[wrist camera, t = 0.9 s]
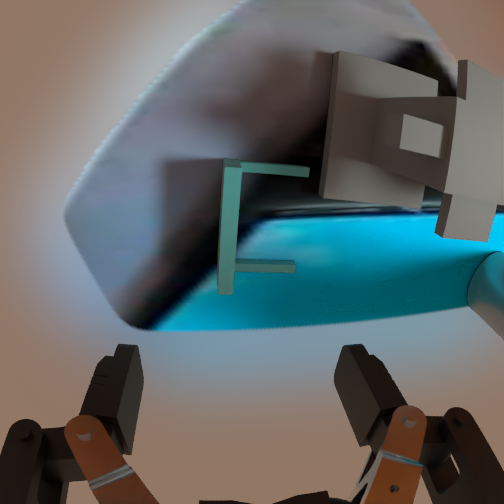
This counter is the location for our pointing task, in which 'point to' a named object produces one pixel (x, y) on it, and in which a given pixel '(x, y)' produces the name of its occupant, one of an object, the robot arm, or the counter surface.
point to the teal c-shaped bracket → (230, 222)
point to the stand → (416, 142)
